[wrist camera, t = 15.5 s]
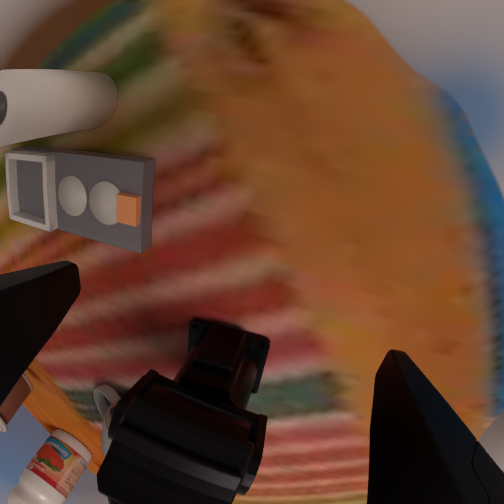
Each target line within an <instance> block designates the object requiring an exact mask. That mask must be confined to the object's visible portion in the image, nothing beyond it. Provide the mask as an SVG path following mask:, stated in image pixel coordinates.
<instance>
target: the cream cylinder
mask: <svg viewBox="0 0 504 504" xmlns="http://www.w3.org/2000/svg"><path fill="white" fill-rule="evenodd" d="M116 104H117V88H116V85H115V83H114V81H113V79H112V78H111V77H110V76H109V75H107V74H105V73H101V72H90V71H76V70H54V69H12V70H1V71H0V147H3V146H7V145H11V144H15V143H19V142H23V141H28V140H32V139H37V138H42V137H47V136H52V135H58V134H63V133H69V132H75V131H81V130H88V129H94V128H99V127H101V126H103V125H104V124H106V123H107V122H108V121H109V119H110V118H111V117H112V115H113V113H114V111H115V108H116Z"/></svg>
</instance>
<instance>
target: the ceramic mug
mask: <svg viewBox="0 0 504 504" xmlns="http://www.w3.org/2000/svg"><path fill="white" fill-rule="evenodd" d="M104 396H105V397H106V398H107V399H108V400H109V402H110V403H111V405H110V406H108V404H107V402H106V400H105V397H104ZM94 399H95V403H96V405H97V408H98V410H99V412H100V414H101V415H102V417H103V431H102V441H101V443H102V450H103V453H104V455H105V457H106V454H107V452H108V449H109V446H110V444H111V441H112V440H110V439H109V438H108V429H109V425H110V422H111V418H110V415H109V412H110V409H111V408H112V407H113V406H114V405H116V404H117V403H118V401H119V400H120V399H121V397H120V396H119V395H118V393H117V392H116V391H115V390H114V389H113V388H112V387H111V386H109V385H107V384H103V385H101V386H99V387H97V388H95V390H94Z"/></svg>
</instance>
